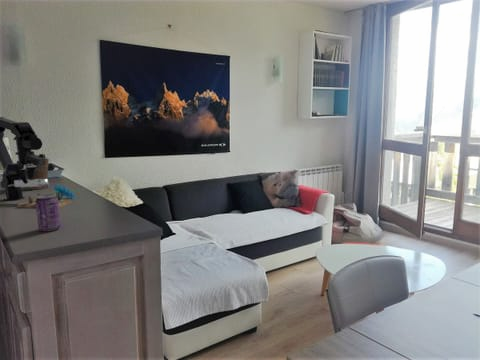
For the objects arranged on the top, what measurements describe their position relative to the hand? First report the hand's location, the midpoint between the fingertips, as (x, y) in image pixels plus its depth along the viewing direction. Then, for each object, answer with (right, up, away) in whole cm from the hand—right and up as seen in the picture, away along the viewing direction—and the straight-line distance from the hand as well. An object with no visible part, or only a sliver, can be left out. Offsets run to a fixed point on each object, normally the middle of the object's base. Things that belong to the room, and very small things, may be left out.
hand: (28, 182), depth 187 cm
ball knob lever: (+2, -2, 0) cm, 2 cm away
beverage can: (+33, -16, -48) cm, 60 cm away
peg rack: (+12, -10, -8) cm, 17 cm away
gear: (+15, -8, +3) cm, 18 cm away
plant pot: (-15, -4, +38) cm, 41 cm away
